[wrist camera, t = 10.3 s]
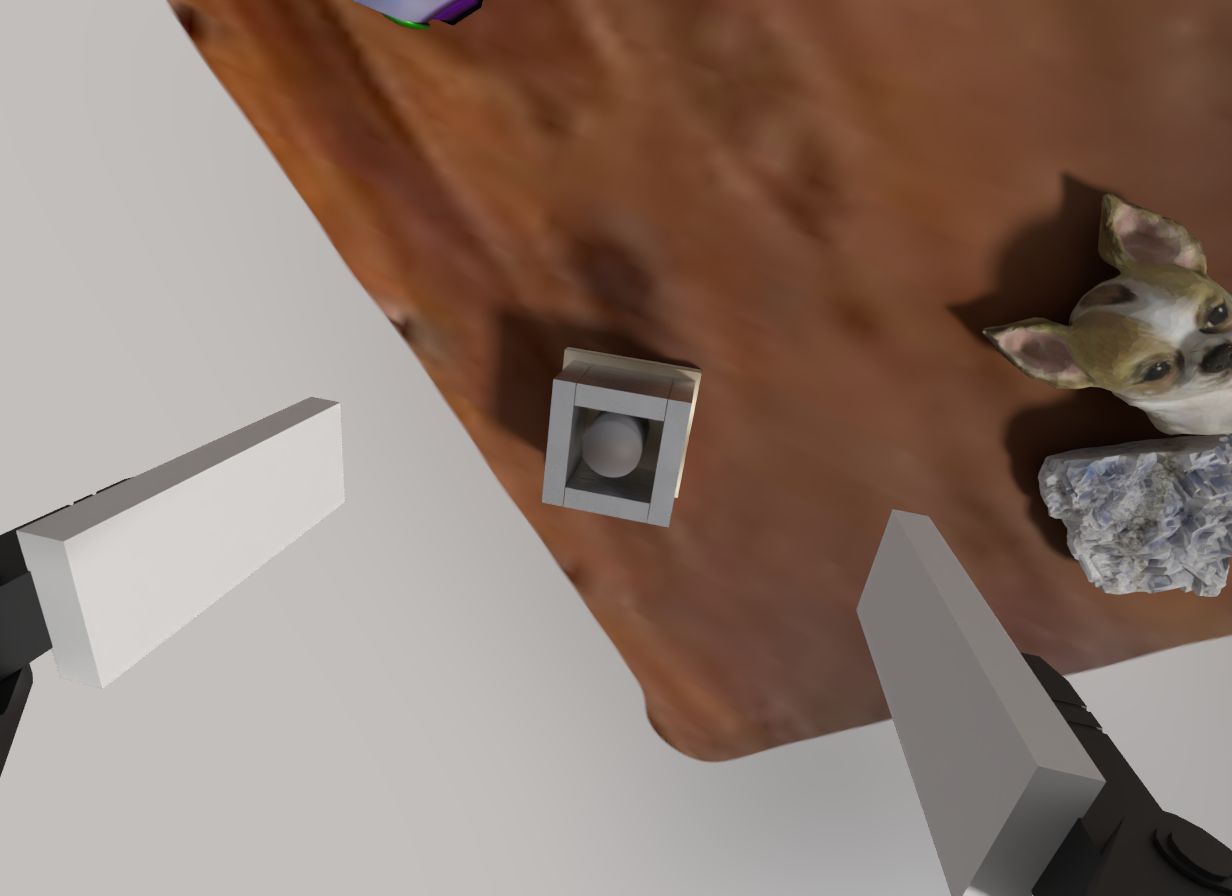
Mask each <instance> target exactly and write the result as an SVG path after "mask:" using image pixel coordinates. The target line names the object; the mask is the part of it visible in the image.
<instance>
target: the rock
mask: <svg viewBox="0 0 1232 896" xmlns="http://www.w3.org/2000/svg"><path fill="white" fill-rule="evenodd" d="M1038 480H1039V483H1040V484H1039V488H1040V494H1041V496H1042V498H1043V501H1044V503H1045V504H1046V505H1047V506H1048V513H1049V516H1051V517H1053V518H1055V519H1056V518H1059V519H1062V521H1063V523H1064V525H1065V526H1066V527H1067V540H1068V541H1067V545H1068V547H1069V549H1070V551H1071V554H1072V555H1073V556H1074V558H1075V559H1076V560H1078V561H1079V562H1080V566H1081V568H1082V569H1083V571H1084V572H1085V574H1086V575H1087V578H1088V581H1090V582H1092V583H1093V584H1094V585H1095V586H1096V587H1099V588H1101V589H1102V590H1103V591H1104V592H1105V593H1112V594H1127V593H1131V592H1139V591H1146V592H1148V593H1155V592H1160V591H1165V590H1170V589H1174V588H1180V589H1182V590H1183V591H1184V592H1188V591H1191V590H1192V591H1194V593H1195V594H1196V595H1199V596H1208V597H1213V596H1217V595H1218V594H1219V593H1220V590H1221V588H1223V587H1224V586H1225V585H1226V582H1225V581H1226V579H1227V574H1228V569H1229V558H1230V557H1231V556H1232V435H1230V434H1212V435H1205V436H1186V437H1176V438H1165V439H1150V440H1141V441H1134V442H1127V443H1122V444H1117V445H1109V446H1102V447H1090V448H1082V449H1076V450H1071V451H1067V452H1063V453H1059V454H1055V455H1051V456H1048V457H1046V458H1045V460H1044V463H1043V465H1042V467H1041V470H1040V472H1039V475H1038Z"/></svg>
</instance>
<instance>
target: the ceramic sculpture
mask: <svg viewBox="0 0 1232 896" xmlns="http://www.w3.org/2000/svg"><path fill="white" fill-rule="evenodd" d="M1098 252H1099V255H1100V257H1101V258H1102V259H1103V260H1104V261H1105V262H1106V263H1108V264H1110V265H1111V266H1113V267H1115V268H1117V269H1118V270H1119V271H1120V273H1121V274H1120V275H1118V276H1117V277H1116V278H1113V279H1109V280H1107V281H1104V282H1102V283H1100V284H1098V285H1097V286H1096V287H1094V288H1093V289H1092V290H1090V291H1089V292H1088V293H1086V294H1085V295H1084V296H1083V297H1082V298H1081V299H1080V301H1079V302H1078V304H1077V305H1076V307H1075V308H1074V310H1073V311H1072V313H1071V316H1070V320H1069V326H1064V325H1062V324H1061V323H1056V322H1053V321H1050V320H1048V319H1046V318H1036V317H1033V318H1029V319H1025V320H1021V321H1018V322H1014V323H1010V324H1007V325H1003V326H995V327H988V328H985V329H984V330H982V333H983V334H984V335H985V336H986V337H987V338H988V339H989V340H990V341H991V342H992V343H993V344H994V346H995V348H996V350H997V351H998V352H1000V353H1001V354H1002V355H1003V356H1004V357H1005V358H1006V359H1007V360H1009V361H1010V362H1011V363H1012V364H1013V365H1014V366H1016V367H1017V368H1018V369H1020V370H1021V371H1022V372H1024V373H1025V374H1026V375H1027V376H1028V377H1030V378H1033V379H1037V380H1040V381H1043V382H1045V383H1047V384H1049V385H1051V386H1053V387H1054V388H1065V389H1080V388H1085V387H1101V388H1104V389H1107V390H1111V391H1112V393H1113V394H1114V395H1115V396H1117V397H1119V398H1121V399H1122V400H1124V401H1125V402H1127V403H1128V405H1130V406H1136V407H1138V408H1140V409H1142V410H1143V411H1145V412H1146V414H1147V416H1148V417H1149V419H1150V421H1151V423H1152V424H1153V425H1154V426H1155V428H1156V429H1158V430H1160V431H1161V432H1163V433H1166V434H1169V435H1174V434H1200V435H1212V434H1229V433H1232V294H1230V293H1229V292H1227V291H1226V290H1225V289H1223V288H1222V287H1221V286H1219V285H1218V284H1217V283H1216V282H1214V281H1212V280H1211V279H1210V278H1209V277H1208V275H1207V274H1206V259H1207V258H1206V255H1205V252H1204V249H1203V246H1202V243H1201V242H1200V241H1199V240H1197V239H1195V238H1194V237H1192V236H1191V235H1190V234H1189V233H1188V232H1187V230H1186V229H1185V227H1184V226H1183V225H1182V224H1181V223H1179V222H1176V221H1173V220H1172V219H1169V218H1165V217H1162V216H1161V215H1160V214H1157V213H1154V212H1152V211H1150V210H1147V209H1145V208H1141V207H1139V206H1137V205H1134V204H1132V203H1127V202H1125V201H1124V200H1122V199H1121V198H1119V197H1117V196H1115V195H1113V194H1111V193H1106V194H1105V195H1104V196H1103V198H1102V203H1101V221H1100V229H1099V240H1098Z"/></svg>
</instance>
